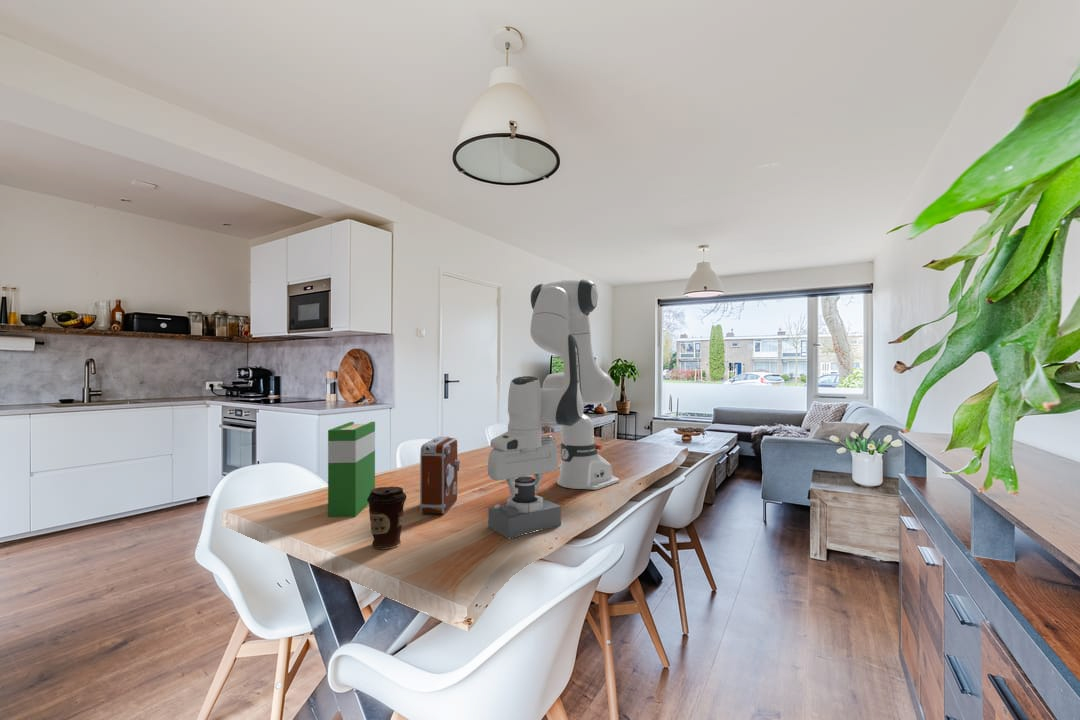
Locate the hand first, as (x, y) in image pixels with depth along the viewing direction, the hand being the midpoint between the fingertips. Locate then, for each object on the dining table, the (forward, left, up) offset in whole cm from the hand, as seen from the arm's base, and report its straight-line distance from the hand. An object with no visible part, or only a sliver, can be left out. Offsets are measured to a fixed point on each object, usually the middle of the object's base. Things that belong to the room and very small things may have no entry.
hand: (524, 492), depth 119 cm
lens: (0, 0, -2) cm, 2 cm away
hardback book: (+32, -43, -9) cm, 54 cm away
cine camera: (+10, -29, -9) cm, 32 cm away
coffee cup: (+33, -9, -9) cm, 35 cm away
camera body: (0, 0, -9) cm, 9 cm away
